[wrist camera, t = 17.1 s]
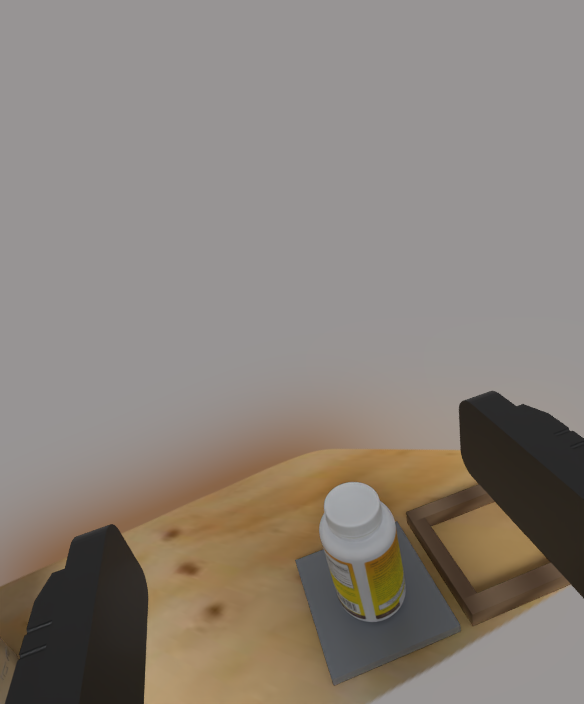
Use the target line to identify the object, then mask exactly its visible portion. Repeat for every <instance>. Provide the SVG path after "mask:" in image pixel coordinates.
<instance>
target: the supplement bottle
mask: <svg viewBox="0 0 584 704" xmlns="http://www.w3.org/2000/svg"><path fill="white" fill-rule="evenodd" d="M324 511H325V513H324V514H323V516H322V519H321V522H320V527H319V533H320V539H321V543H322V546H323V549H324V553H325V556H326V559H327V562H328V566H329V569H330V573H331V576H332V579H333V582H334V586H335V589H336V593H337V596H338V599H339V601H340V603H341V605H342V606H343V608H344V609H345V610H346V611H347V612H348V613H349V614H350V615H352V616H353V617H355V618H357V619H359V620H362V621H366V622H378V621H382V620H385V619H387V618H389V617H391V616H392V615H393V614H395V613H396V612H397V611H398V610H399V608H400V607H401V605H402V603H403V601H404V598H405V592H406V584H405V578H404V571H403V566H402V560H401V554H400V548H399V542H398V537H397V531H396V525H395V521H394V517H393V515H392V513H391V511H390V510H389V509H388V507H387V506H386V505H385V504H383V503H382V502H381V501H380V500H379V497H378V495H377V493H376V492H375V490H374V489H373V488H371V487H370V486H368V485H366V484H364V483H360V482H347V483H344V484H341V485H339V486H337V487H335V488H334V489H332V490H331V491H330V492H329V494H328V495H327V497H326V499H325V502H324Z"/></svg>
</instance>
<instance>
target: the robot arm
mask: <svg viewBox="0 0 584 704" xmlns="http://www.w3.org/2000/svg"><path fill="white" fill-rule="evenodd" d="M459 420H460V445H461V455H462V459H463V461H464V464H465V466H466V468H467V470H468V471H469V473H470V474H471V476H472V477H473V478H474V479H475V480H476V481H477V482H478V484H479V485H480V486H481V487H482V488H483V489H484V490H485V491H486V492H487V493H488V494H489V496H490V497H491V498H492V499H493V500H494V501H495V502H496V503H497V504H498V505H499V506H500V508H501V509H502V510H503V511H504V512H505V513H506V514H507V515H508V516H509V517H510V518H511V520H512V521H513V522H514V523H515V524H516V525H517V526H518V527H519V528H520V529H521V530H522V532H523V533H524V534H525V535H526V536H527V537H528V538H529V539H530V540H531V541H532V542H533V543H534V545H535V546H536V547H537V548H538V549H539V550H540V551H541V552H542V553H543V554H544V555H545V557H546V558H547V559H548V560H549V561H550V562H551V563H552V564H553V565H554V566H555V567H556V569H557V570H558V571H559V572H560V573H561V574H562V575H563V576H564V577H565V578H566V579H567V581H568V582H569V583H570V584H571V585H572V586H573V587H574V588H575V589H576V590H577V591H578V592H579V593H580V595H581V596H582V597H583V598H584V438H582V437H581V436H580V435H578V434H577V433H575V432H574V431H570V430H569V428H568V427H567V426H565V425H564V424H563V423H561V422H560V421H558V420H557V419H556V418H554V417H553V416H551V415H550V414H548V413H546V412H543V411H540V410H538V409H535V408H532V407H530V406H527V405H524V404H522V405H519V406H515V405H514V404H512V403H511V402H510V401H508V400H507V399H506V398H504V397H503V396H501V395H500V394H499V393H497V392H495V391H490V392H487V393H484V394H481V395H479V396H476V397H473V398H470V399H467V400H464V401H462V402H461V403H460V405H459ZM147 616H148V589H147V583H146V579H145V575H144V573H143V570H142V568H141V566H140V565H139V563H138V561H137V560H136V558H135V556H134V555H133V553H132V551H131V550H130V548H129V546H128V545H127V543H126V541H125V540H124V538H123V536H122V535H121V533H120V531H119V530H118V528H117V527H116V526H115V525H113V524H111V525H108V526H105V527H102V528H99V529H96V530H94V531H91V532H88V533H85V534H82V535H80V536H77V537H75V538H74V539H73V540H72V542H71V545H70V549H69V553H68V558H67V562H66V566H65V569H62V570H60V571H57V572H54V573H52V574H51V576H50V578H49V579H48V581H47V582H46V584H45V586H44V587H43V589H42V590H41V592H40V593H39V595H38V597H37V598H36V600H35V602H34V605H33V608H32V612H31V615H30V619H29V622H28V626H27V629H26V630H27V635H25V636H24V639H23V643H22V646H21V650H20V653H19V655H20V660H18V658H17V655H16V653H15V652H14V651H13V650H12V649H11V648H10V647H9V646H8V645H7V644H6V643H5V642H4V641H3V640H2V638H1V637H0V704H144V685H145V662H146V639H147Z"/></svg>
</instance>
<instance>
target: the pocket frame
mask: <svg viewBox="0 0 584 704" xmlns="http://www.w3.org/2000/svg"><path fill="white" fill-rule="evenodd" d="M492 502H495V501H494V500H493V499H492V498H491V497H490V496H489V494H488V493H487V492H486V491H485V490H484V489H483V488H482V487H481V486H480V485H479V484H478V485H476V486H473V487H471V488H468V489H465V490H463V491H460V492H458V493H455V494H452V495H450V496H447V497H445V498H442V499H439V500H437V501H434V502H431V503H429V504H426V505H424V506H421V507H418V508H416V509H413V510H411V511H408V512H406V515H407V523H408V525H409V526H410V528H411V529H412V531H413V533H414V534H415V536H416V537H417V539H418V540H419V542H420V544H421V545H422V547H423V548H424V550H425V551H426V553H427V555H428V556H429V558H430V559H431V561H432V562H433V564H434V566H435V567H436V569H437V570H438V572H439V573H440V575H441V577H442V578H443V580H444V581H445V583H446V585H447V586H448V588H449V589H450V591H451V592H452V594H453V596H454V597H455V599H456V600H457V602H458V603H459V605H460V607H461V608H462V610H463V611H464V613H465V614H466V616H467V618H468V619H469V621H470V622H471V624H472V626H474V625H477V624H479V623H481V622H484V621H486V620H488V619H491V618H493V617H495V616H498V615H500V614H502V613H505V612H507V611H509V610H512V609H514V608H516V607H519V606H521V605H523V604H526V603H528V602H530V601H533V600H535V599H537V598H540V597H542V596H544V595H547V594H549V593H551V592H554V591H556V590H558V589H561V588H563V587H565V586H568V585H570V583H569V582H568V581H567V579H566V578H565V577H564V576H563V575H562V574H561V573H560V572H559V571H558V570H557V569H556V567H555V566H554V565H553V564H552V563H548V564H546V565H543V566H541V567H539V568H536V569H534V570H531V571H529V572H527V573H524V574H522V575H519V576H517V577H515V578H512V579H510V580H507V581H505V582H503V583H500V584H498V585H496V586H493V587H491V588H488V589H486V590H484V591H481V592H479V593H476V591H475V590H474V588H473V587H472V585H471V584H470V582H469V581H468V579H467V578H466V577H465V575H464V574H463V572H462V571H461V569H460V568H459V566H458V565H457V564H456V562H455V561H454V559H453V558H452V556H451V555H450V553H449V552H448V551H447V549H446V548H445V546H444V545H443V543H442V542H441V540H440V539H439V537H438V536H437V535H436V533H435V532H434V530H433V529H432V527H431V526H433V525H436V524H439V523H441V522H444V521H446V520H449V519H451V518H454V517H456V516H459V515H462V514H464V513H467V512H469V511H472V510H474V509H477V508H479V507H482V506H485V505H487V504H490V503H492Z"/></svg>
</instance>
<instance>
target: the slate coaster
mask: <svg viewBox="0 0 584 704" xmlns="http://www.w3.org/2000/svg"><path fill="white" fill-rule="evenodd" d="M395 525H396V531H397V537H398V542H399V548H400V554H401V560H402V566H403V571H404V578H405V584H406V592H405V598H404V601H403V603H402V605H401V607H400V608H399V610H398V611H397V612H396V613H395V614H393V615H392V616H391V617H389V618H387V619H385V620H382V621H378V622H366V621H362V620H359V619H357V618H355V617H353V616H352V615H350V614H349V613H348V612H347V611H346V610H345V609H344V608H343V606H342V605H341V603H340V601H339V599H338V596H337V593H336V589H335V586H334V582H333V579H332V576H331V573H330V569H329V566H328V562H327V559H326V556H325V553H324V549H323V550H321V551H318V552H316V553H313V554H310V555H308V556H305V557H303V558H300V559H297V560H295V561H296V564H297V568H298V571H299V574H300V577H301V581H302V584H303V587H304V591H305V594H306V597H307V600H308V604H309V607H310V610H311V613H312V617H313V620H314V623H315V626H316V630H317V633H318V636H319V639H320V643H321V646H322V649H323V652H324V656H325V659H326V662H327V665H328V669H329V672H330V675H331V678H332V682H333V685H337V684H339V683H341V682H344V681H346V680H348V679H351V678H353V677H355V676H358V675H360V674H362V673H365V672H367V671H369V670H372V669H374V668H376V667H379V666H381V665H383V664H386V663H388V662H390V661H393V660H395V659H397V658H400V657H402V656H404V655H407V654H409V653H411V652H414V651H416V650H418V649H421V648H423V647H425V646H428V645H430V644H432V643H435V642H437V641H439V640H442V639H444V638H446V637H449V636H451V635H453V634H456V633H458V632H460V631H461V627H460V624H459V622H458V620H457V619H456V617H455V615H454V614H453V612H452V611H451V609H450V607H449V606H448V604H447V602H446V601H445V599H444V597H443V596H442V594H441V593H440V591H439V589H438V588H437V586H436V584H435V583H434V581H433V579H432V578H431V576H430V574H429V573H428V571H427V570H426V568H425V566H424V565H423V563H422V561H421V560H420V558H419V556H418V555H417V553H416V552H415V550H414V548H413V547H412V545H411V543H410V542H409V540H408V538H407V537H406V535H405V533H404V532H403V530H402V529H401V527H400V525H399V524H398V522H397V521H396V522H395Z"/></svg>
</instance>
